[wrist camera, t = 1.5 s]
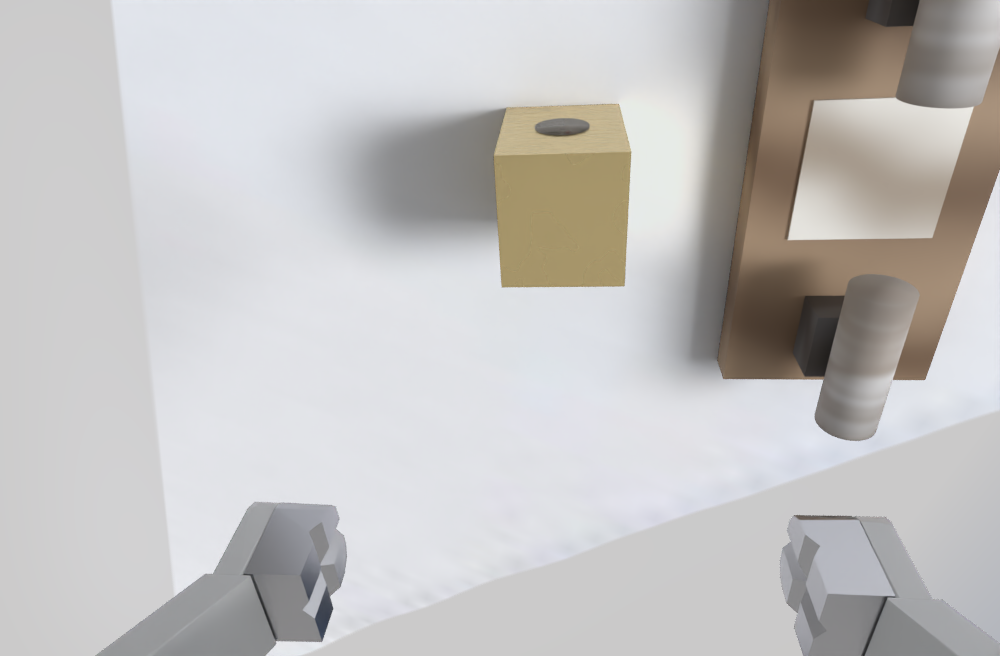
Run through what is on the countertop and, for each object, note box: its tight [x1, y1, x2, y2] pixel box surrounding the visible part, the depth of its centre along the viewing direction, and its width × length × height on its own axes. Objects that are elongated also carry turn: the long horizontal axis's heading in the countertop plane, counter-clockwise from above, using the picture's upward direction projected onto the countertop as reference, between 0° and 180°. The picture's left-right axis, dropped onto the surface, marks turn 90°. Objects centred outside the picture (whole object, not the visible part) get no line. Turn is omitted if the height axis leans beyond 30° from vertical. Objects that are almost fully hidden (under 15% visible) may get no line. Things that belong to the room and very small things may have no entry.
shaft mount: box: [717, 0, 1000, 441], centre depth 25 cm, size 20×9×6 cm, turn 3°
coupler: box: [494, 104, 631, 287], centre depth 26 cm, size 5×4×6 cm
